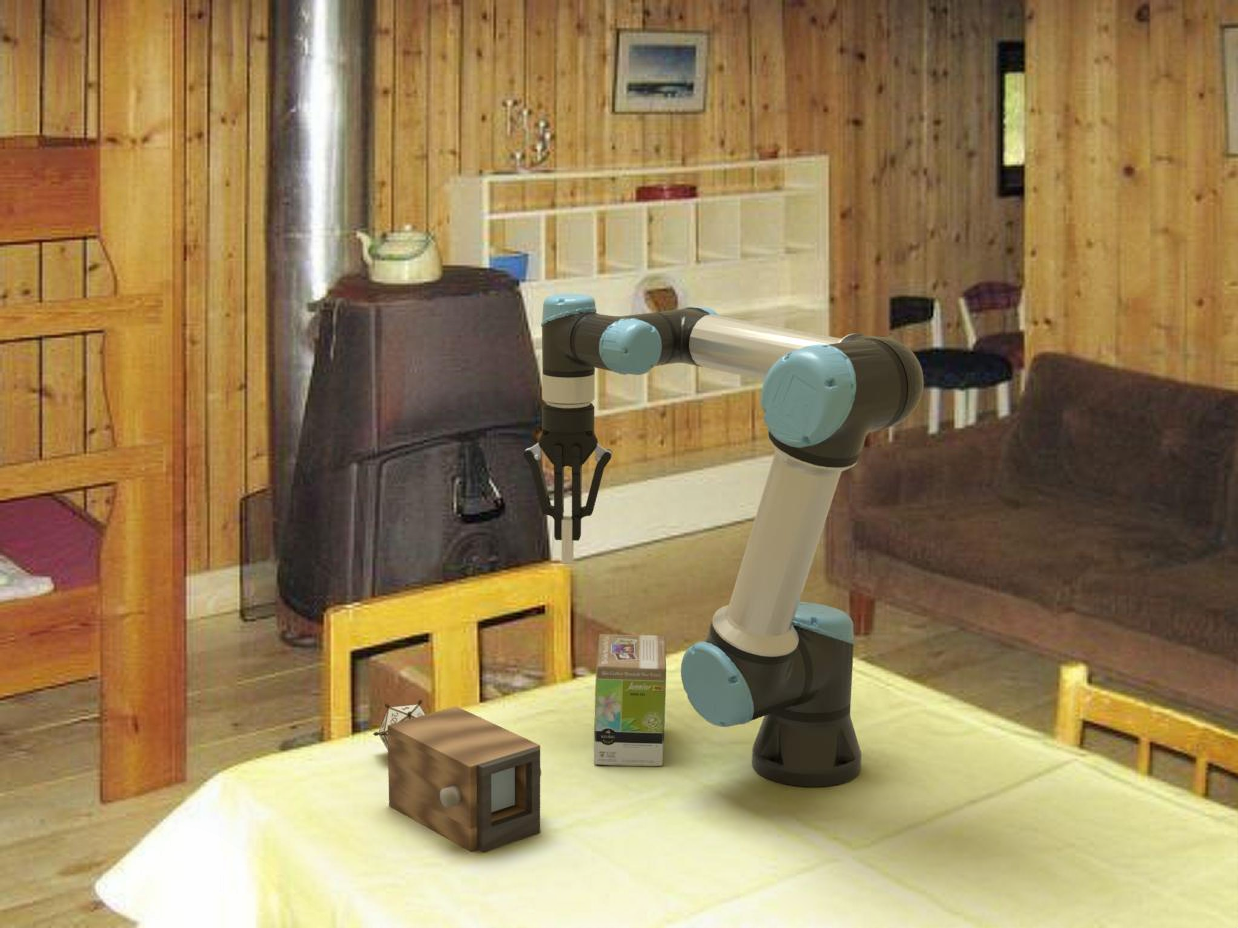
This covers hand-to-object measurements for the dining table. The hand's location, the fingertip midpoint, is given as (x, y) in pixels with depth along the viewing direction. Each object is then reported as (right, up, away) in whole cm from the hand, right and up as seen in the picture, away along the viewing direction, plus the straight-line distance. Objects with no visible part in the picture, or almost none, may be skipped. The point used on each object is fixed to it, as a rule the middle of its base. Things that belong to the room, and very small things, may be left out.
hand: (567, 561), depth 259 cm
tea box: (+9, -27, -5) cm, 28 cm away
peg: (-13, -28, -30) cm, 43 cm away
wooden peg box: (-13, -32, -29) cm, 45 cm away
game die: (-22, -27, -10) cm, 37 cm away
